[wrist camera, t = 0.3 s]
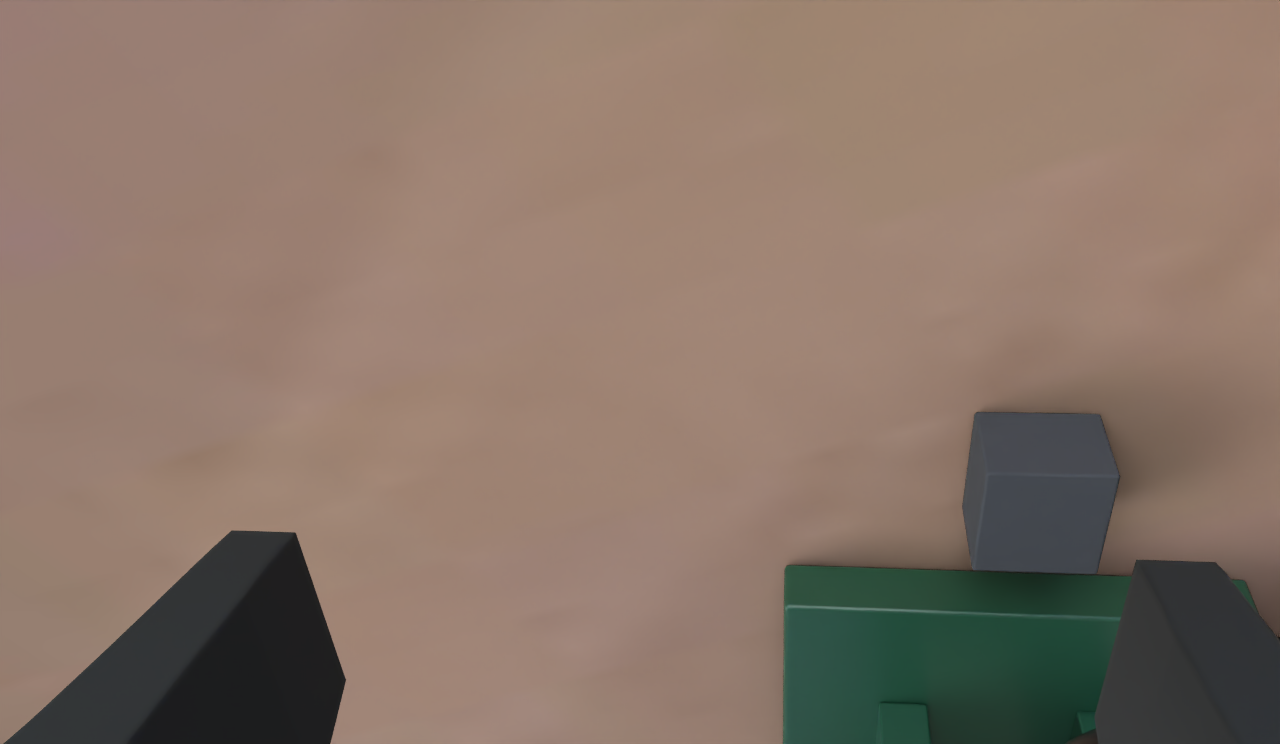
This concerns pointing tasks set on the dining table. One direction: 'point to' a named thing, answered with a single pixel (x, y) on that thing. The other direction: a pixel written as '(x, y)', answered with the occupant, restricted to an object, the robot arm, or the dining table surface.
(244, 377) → the dining table surface
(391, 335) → the dining table surface
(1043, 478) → the block
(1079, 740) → the rod
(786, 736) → the rod bracket
